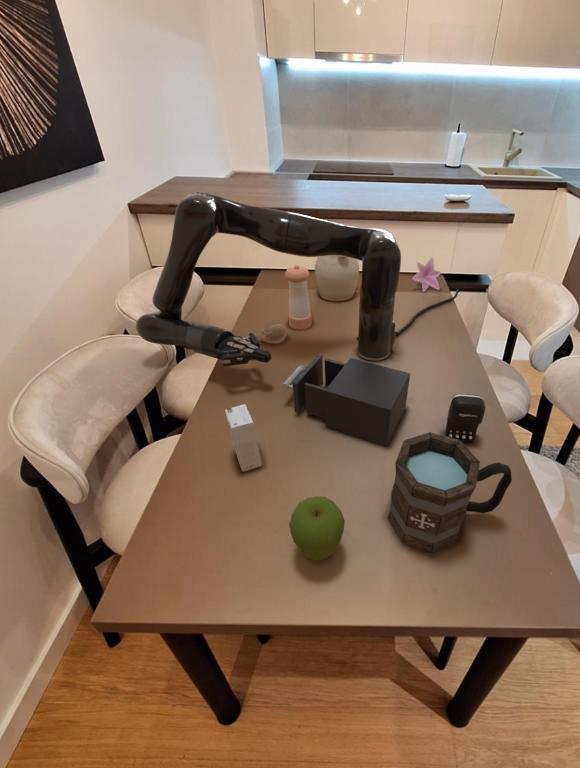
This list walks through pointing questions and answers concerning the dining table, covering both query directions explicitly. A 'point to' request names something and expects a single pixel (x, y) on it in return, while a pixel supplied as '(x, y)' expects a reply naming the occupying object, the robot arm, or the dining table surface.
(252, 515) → the dining table surface
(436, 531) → the mug
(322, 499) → the apple
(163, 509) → the dining table surface
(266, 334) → the decorative ornament
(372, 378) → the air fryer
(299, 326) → the salt shaker
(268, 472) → the dining table surface
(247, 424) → the cosmetic box
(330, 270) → the jug
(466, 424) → the battery charger
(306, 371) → the drawer
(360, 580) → the dining table surface
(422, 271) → the lily
